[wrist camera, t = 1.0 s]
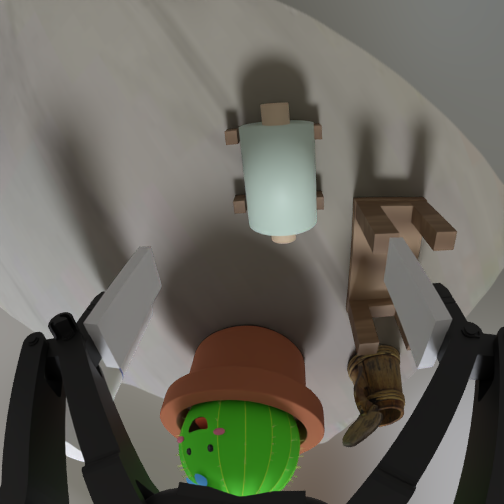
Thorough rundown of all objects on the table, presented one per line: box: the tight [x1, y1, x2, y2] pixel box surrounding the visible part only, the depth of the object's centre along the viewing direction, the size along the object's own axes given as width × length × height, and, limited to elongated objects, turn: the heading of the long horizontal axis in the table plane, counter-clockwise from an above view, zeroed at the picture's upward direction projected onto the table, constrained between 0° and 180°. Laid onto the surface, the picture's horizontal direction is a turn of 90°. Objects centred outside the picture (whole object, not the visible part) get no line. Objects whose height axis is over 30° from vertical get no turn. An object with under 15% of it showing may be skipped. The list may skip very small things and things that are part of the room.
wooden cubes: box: [225, 123, 324, 214], centre depth 32 cm, size 9×10×2 cm
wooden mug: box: [343, 345, 405, 447], centre depth 39 cm, size 9×14×18 cm, turn 52°
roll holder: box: [346, 197, 457, 356], centre depth 33 cm, size 16×9×9 cm, turn 6°
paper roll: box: [239, 103, 317, 244], centre depth 30 cm, size 14×7×7 cm, turn 5°
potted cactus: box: [160, 326, 324, 496], centre depth 38 cm, size 22×22×25 cm
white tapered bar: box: [65, 306, 153, 462], centre depth 34 cm, size 7×7×25 cm
